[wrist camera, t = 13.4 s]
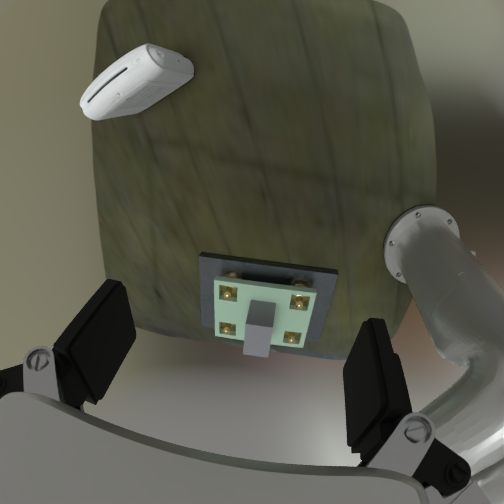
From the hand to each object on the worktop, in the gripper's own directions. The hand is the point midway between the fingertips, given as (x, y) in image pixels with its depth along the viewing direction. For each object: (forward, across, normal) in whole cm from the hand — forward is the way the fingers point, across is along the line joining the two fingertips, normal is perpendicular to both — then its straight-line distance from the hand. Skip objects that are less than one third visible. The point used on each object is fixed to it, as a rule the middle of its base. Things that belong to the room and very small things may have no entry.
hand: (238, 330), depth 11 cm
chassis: (+28, 0, +21) cm, 35 cm away
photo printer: (+29, +16, -10) cm, 34 cm away
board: (+25, 0, +21) cm, 33 cm away
